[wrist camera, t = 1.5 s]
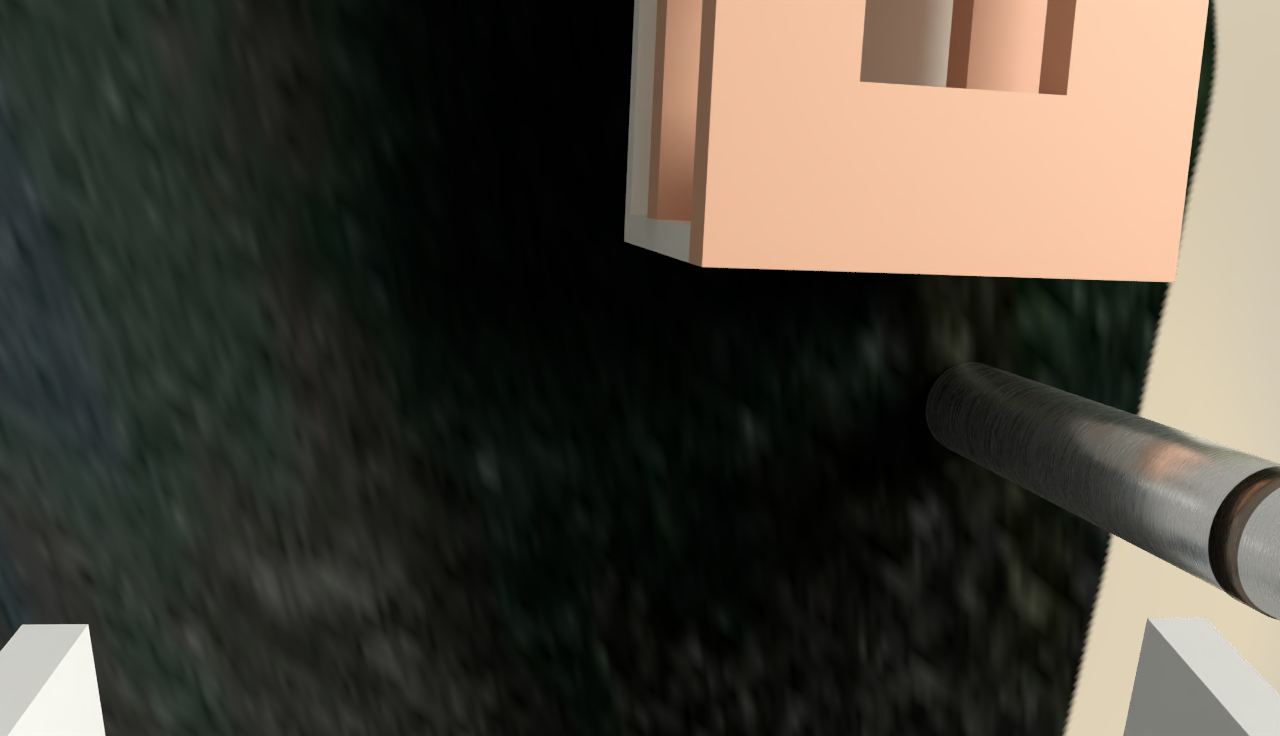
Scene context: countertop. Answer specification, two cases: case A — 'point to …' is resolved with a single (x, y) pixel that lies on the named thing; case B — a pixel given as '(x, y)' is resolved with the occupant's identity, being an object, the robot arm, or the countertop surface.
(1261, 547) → the metal tube
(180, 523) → the countertop surface
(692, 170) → the tissue box
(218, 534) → the countertop surface
